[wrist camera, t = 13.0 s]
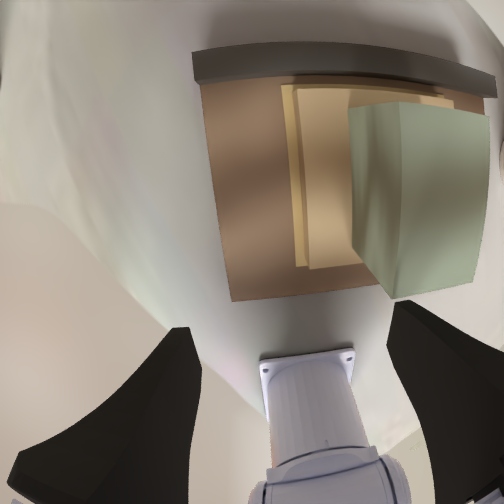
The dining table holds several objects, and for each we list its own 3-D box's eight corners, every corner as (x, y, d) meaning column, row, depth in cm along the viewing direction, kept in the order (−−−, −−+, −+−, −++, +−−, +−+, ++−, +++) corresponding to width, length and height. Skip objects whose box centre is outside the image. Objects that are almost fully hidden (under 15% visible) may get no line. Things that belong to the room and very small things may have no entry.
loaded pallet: (435, 241, 16) (497, 292, 10) (304, 257, 16) (333, 329, 10) (438, 101, 12) (517, 102, 6) (291, 93, 13) (325, 66, 7)
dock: (458, 256, 19) (483, 276, 16) (233, 285, 19) (230, 316, 16) (463, 78, 13) (494, 76, 10) (202, 67, 14) (191, 52, 11)
